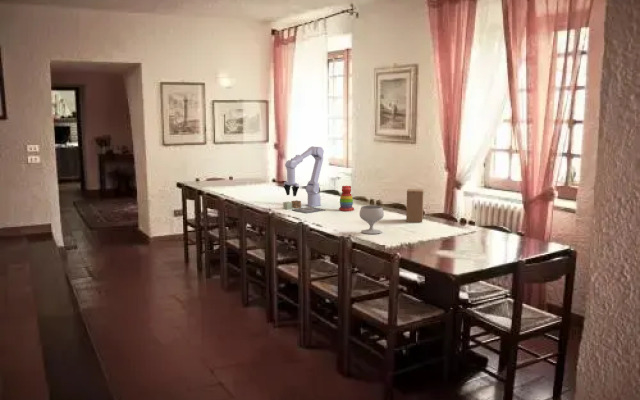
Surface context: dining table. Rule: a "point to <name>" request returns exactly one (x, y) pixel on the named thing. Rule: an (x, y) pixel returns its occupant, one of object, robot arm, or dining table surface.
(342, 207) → the stacking bear
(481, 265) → the dining table surface
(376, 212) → the chalice
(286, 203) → the sage block
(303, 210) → the blueprint board
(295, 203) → the walnut block
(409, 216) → the wooden block
